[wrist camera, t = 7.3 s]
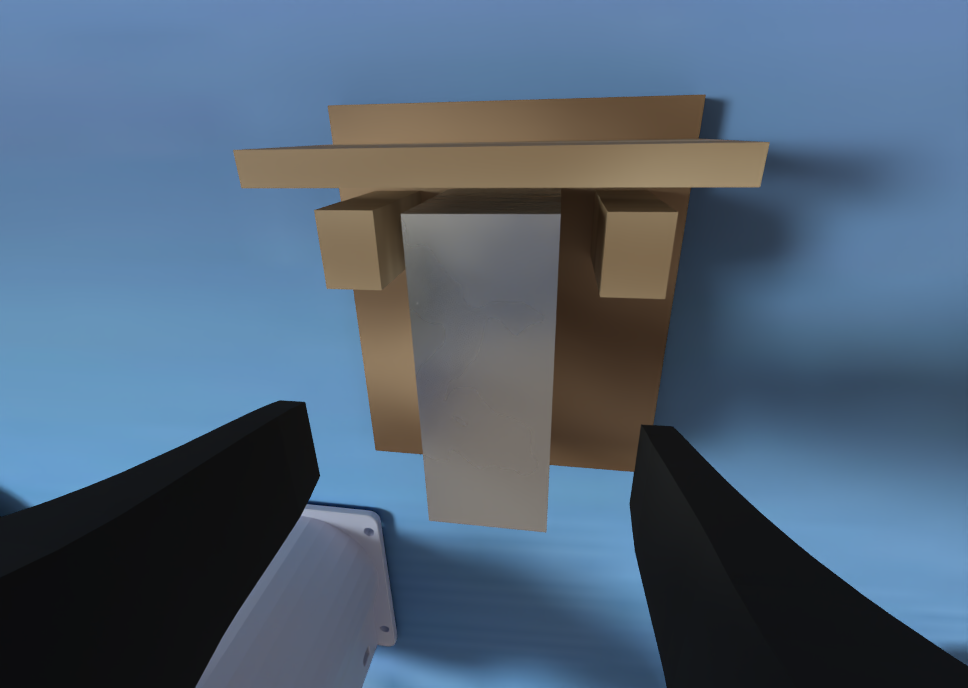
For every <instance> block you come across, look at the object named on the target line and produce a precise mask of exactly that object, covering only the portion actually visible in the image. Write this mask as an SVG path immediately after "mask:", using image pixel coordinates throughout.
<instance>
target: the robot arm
mask: <svg viewBox="0 0 968 688" xmlns="http://www.w3.org/2000/svg"><path fill="white" fill-rule="evenodd" d="M319 477H320V473H319V468H318V463H317V458H316V453H315V448H314V443H313V438H312V433H311V428H310V423H309V418H308V413H307V409H306V404H305V402H296V401H281V400H280V401H277V402H274V403H272V404H269V405H266V406H264V407H262V408H259V409H257V410H255V411H253V412H250V413H248V414H246V415H244V416H242V417H240V418H238V419H236V420H233V421H231V422H229V423H227V424H225V425H223V426H221V427H219V428H217V429H215V430H213V431H211V432H209V433H206V434H204V435H202V436H200V437H198V438H196V439H194V440H192V441H190V442H188V443H186V444H184V445H182V446H179V447H177V448H175V449H173V450H171V451H168V452H166V453H164V454H162V455H159V456H157V457H155V458H153V459H151V460H148V461H146V462H144V463H142V464H139V465H137V466H135V467H133V468H131V469H128V470H126V471H124V472H122V473H119V474H117V475H114V476H112V477H110V478H107V479H105V480H102V481H100V482H97V483H95V484H92V485H90V486H87V487H85V488H82V489H80V490H77V491H74V492H72V493H69V494H66V495H64V496H61V497H58V498H56V499H53V500H50V501H48V502H45V503H42V504H39V505H36V506H34V507H30V508H27V509H24V510H21V511H18V512H15V513H12V514H9V515H6V516H3V517H0V688H362V686H363V683H364V680H365V678H366V675H367V672H368V669H369V667H370V664H371V661H372V658H373V655H374V653H375V650H376V647H377V645H382V646H393V645H394V644H395V643H396V640H397V630H396V623H395V616H394V609H393V602H392V595H391V588H390V581H389V574H388V567H387V560H386V554H385V547H384V540H383V533H382V526H381V519H380V517H379V516H378V514H377V513H375V512H373V511H369V510H359V509H349V508H340V507H330V506H320V505H310V504H307V503H308V501H309V499H310V497H311V495H312V492H313V490H314V488H315V486H316V484H317V481H318V479H319ZM630 512H631V521H632V531H633V539H634V547H635V553H636V558H637V562H638V566H639V570H640V575H641V579H642V583H643V587H644V592H645V596H646V600H647V604H648V608H649V612H650V617H651V621H652V625H653V629H654V633H655V637H656V642H657V646H658V650H659V654H660V658H661V662H662V666H663V671H664V676H665V681H666V686H667V688H968V666H967V665H965V664H964V663H962V662H961V661H959V660H957V659H956V658H954V657H953V656H951V655H950V654H948V653H947V652H945V651H944V650H942V649H941V648H939V647H938V646H936V645H935V644H933V643H932V642H930V641H929V640H927V639H926V638H924V637H923V636H921V635H920V634H919V633H917V632H916V631H914V630H913V629H911V628H910V627H908V626H907V625H905V624H904V623H902V622H901V621H899V620H898V619H896V618H895V617H893V616H892V615H890V614H889V613H888V612H886V611H885V610H883V609H882V608H881V607H879V606H878V605H876V604H875V603H873V602H872V601H871V600H869V599H868V598H866V597H865V596H864V595H862V594H861V593H860V592H858V591H857V590H856V589H854V588H853V587H852V586H850V585H849V584H848V583H846V582H845V581H844V580H842V579H841V578H840V577H839V576H837V575H836V574H835V573H833V572H832V571H831V570H829V569H828V568H827V567H825V566H824V565H823V564H821V563H820V562H819V561H817V560H816V559H815V558H814V557H812V556H811V555H810V554H809V553H807V552H806V551H805V550H804V549H802V548H801V547H800V546H799V545H798V544H796V543H795V542H794V541H793V540H792V539H790V538H789V537H788V536H787V535H786V534H785V533H784V532H782V531H781V530H780V529H779V528H778V527H777V526H775V525H774V524H773V523H772V522H771V521H770V520H768V519H767V518H766V517H765V516H764V515H763V514H762V513H760V512H759V511H758V510H757V509H756V508H755V507H754V506H753V505H752V504H751V503H750V502H748V501H747V500H746V499H745V498H744V497H743V496H742V495H741V494H740V493H739V492H738V491H737V490H736V489H735V488H734V487H733V486H731V485H730V484H729V483H728V482H727V481H726V480H725V479H724V478H723V477H722V476H721V475H720V474H719V473H718V472H717V471H716V470H715V469H714V468H713V467H712V466H711V465H710V464H709V463H708V462H707V461H706V460H705V459H704V458H703V457H702V456H701V455H700V454H699V453H698V452H697V451H696V449H695V448H694V447H693V446H692V445H691V444H690V443H689V442H688V441H687V440H686V439H685V438H684V437H683V436H682V435H681V434H680V433H679V432H678V431H677V430H676V429H675V428H674V427H672V426H657V425H642V424H641V428H640V435H639V442H638V449H637V456H636V463H635V470H634V477H633V484H632V491H631V497H630ZM370 528H371V529H370Z"/></svg>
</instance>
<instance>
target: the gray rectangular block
mask: <svg viewBox="0 0 968 688" xmlns="http://www.w3.org/2000/svg"><path fill="white" fill-rule="evenodd" d="M560 219H561V188H505V189H448V190H446V191H444V192H442V193H440V194H439V195H437V196H435V197H433V198H431V199H429V200H427V201H425V202H423V203H421V204H419V205H417V206H415V207H413V208H411V209H409V210H407V211H405V212H403V213H401V224H402V235H403V245H404V256H405V267H406V277H407V288H408V299H409V310H410V320H411V331H412V342H413V352H414V363H415V374H416V384H417V395H418V406H419V417H420V427H421V438H422V449H423V459H424V470H425V481H426V491H427V502H428V513H429V521H438V522H448V523H458V524H468V525H478V526H488V527H498V528H508V529H518V530H528V531H538V532H546V530H547V508H548V485H549V463H550V441H551V419H552V397H553V374H554V352H555V330H556V308H557V286H558V263H559V241H560Z"/></svg>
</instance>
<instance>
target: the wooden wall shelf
mask: <svg viewBox="0 0 968 688" xmlns="http://www.w3.org/2000/svg"><path fill="white" fill-rule="evenodd" d="M705 96H706V95H677V96H642V97H608V98H573V99H539V100H504V101H469V102H435V103H400V104H366V105H331V106H328V111H329V118H330V125H331V132H332V140H333V145H315V146H298V147H280V148H263V149H245V150H233V152H234V156H235V161H236V165H237V170H238V174H239V179H240V183H241V188H339V190H340V197H341V202H338V203H335V204H332V205H329V206H326V207H323V208H320V209H316V210H314V212H315V219H316V225H317V231H318V237H319V243H320V249H321V255H322V261H323V267H324V274H325V280H326V286H327V289H353V291H354V298H355V305H356V312H357V319H358V326H359V334H360V341H361V348H362V355H363V362H364V370H365V377H366V384H367V391H368V398H369V406H370V413H371V420H372V427H373V434H374V441H375V449H376V450H377V451H390V452H402V453H414V454H423V449H422V438H421V427H420V417H419V406H418V395H417V384H416V374H415V363H414V352H413V342H412V331H411V320H410V310H409V299H408V288H407V277H406V267H405V256H404V245H403V235H402V224H401V213H403V212H405V211H407V210H409V209H411V208H413V207H415V206H417V205H419V204H421V203H423V202H425V201H427V200H429V199H431V198H433V197H435V196H437V195H439V194H440V193H442V192H444V191H446V190H448V189H505V188H561V219H560V241H559V263H558V286H557V308H556V330H555V352H554V374H553V397H552V419H551V441H550V463H549V465H558V466H570V467H582V468H594V469H606V470H618V471H630V472H634V470H635V463H636V456H637V449H638V442H639V435H640V428H641V424H642V425H653V423H654V417H655V411H656V404H657V398H658V392H659V386H660V379H661V373H662V367H663V360H664V354H665V348H666V341H667V335H668V329H669V323H670V316H671V310H672V304H673V297H674V291H675V285H676V279H677V272H678V266H679V260H680V253H681V247H682V241H683V234H684V228H685V222H686V216H687V209H688V203H689V197H690V190H691V187H760V185H761V180H762V176H763V171H764V166H765V162H766V157H767V152H768V148H769V143H770V142H755V141H736V140H716V139H699V134H700V127H701V121H702V115H703V108H704V102H705Z"/></svg>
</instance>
